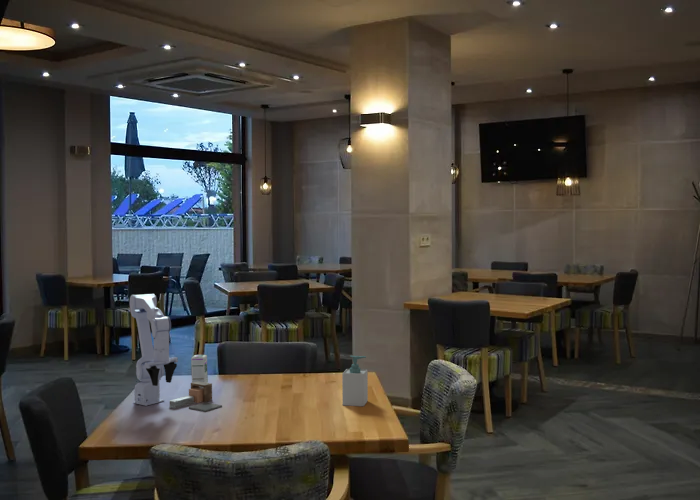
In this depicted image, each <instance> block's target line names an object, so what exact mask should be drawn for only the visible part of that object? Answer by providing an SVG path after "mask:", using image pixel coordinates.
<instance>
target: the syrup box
mask: <svg viewBox="0 0 700 500" xmlns="http://www.w3.org/2000/svg"><path fill="white" fill-rule="evenodd" d="M190 358H191V359H190V361H191V363H190V365H191V366H190V367H191V383H192V382H196V381H200V382H206V383H209V381H208V380H209V379H208V378H209V377H208V376H209V375H208V355H207V354H195V355H193V356H192V357H190ZM199 387H200V386H199ZM201 388H203V387H201Z"/></svg>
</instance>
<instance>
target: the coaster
mask: <svg viewBox="0 0 700 500" xmlns="http://www.w3.org/2000/svg"><path fill="white" fill-rule="evenodd" d="M220 408H223V404H217V403H212V402H209V401H207V402H204V401H203V402H200V403H197V404H194V405H191V406H188V409H190V410H194V411H195V410H196V411H200V412H204V413H206V412H210V411H213V410H217V409H220Z"/></svg>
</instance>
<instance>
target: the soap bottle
mask: <svg viewBox="0 0 700 500" xmlns="http://www.w3.org/2000/svg"><path fill="white" fill-rule="evenodd" d="M349 357H350V358H352V362H353V363H352V364H351V366H350V367H349V368H346V369H345V370H344V371H343V372H342V377H341V378H342V379H341V380H342V385H341V386H342V389H341V390H342V393H341V394H342V406H345V407H346V406H347V407H349V406H351V407H365V405H366V404H367V403H368V400H369V399H368V398H369V397H368V394H369V393H368V384H369V383H368V378H369V377H368V374H369V373H368V372H369V371H368V369H361V367H359V366H360V365H359V363H357V362H358V360H361V359H367V356H365V355H349Z"/></svg>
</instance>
